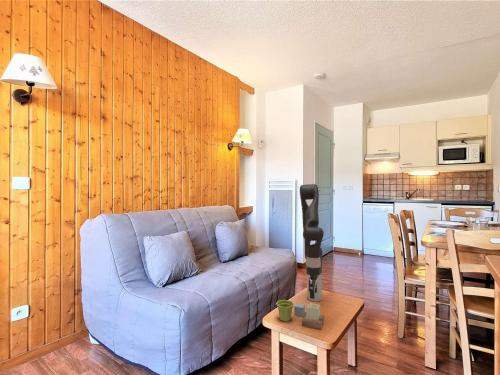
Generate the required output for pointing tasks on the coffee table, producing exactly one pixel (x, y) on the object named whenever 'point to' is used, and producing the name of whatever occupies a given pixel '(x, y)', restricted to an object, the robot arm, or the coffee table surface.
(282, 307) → the plant pot
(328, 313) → the coffee table surface
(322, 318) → the walnut square pad
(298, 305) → the slate block
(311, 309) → the sage block
